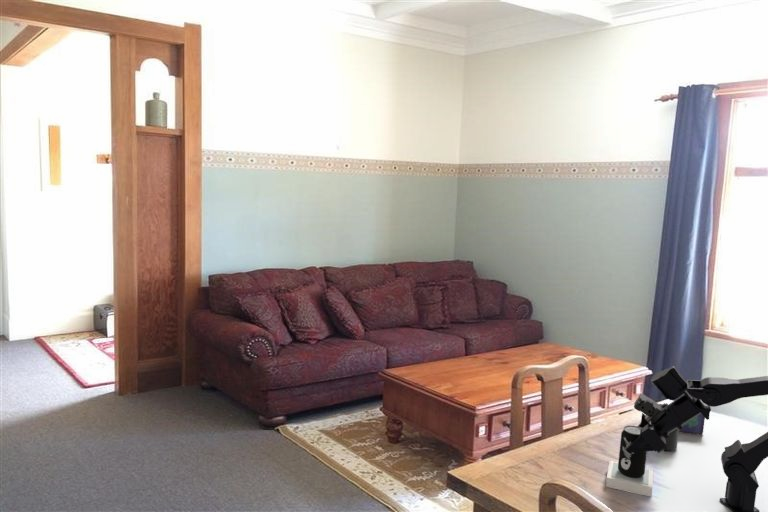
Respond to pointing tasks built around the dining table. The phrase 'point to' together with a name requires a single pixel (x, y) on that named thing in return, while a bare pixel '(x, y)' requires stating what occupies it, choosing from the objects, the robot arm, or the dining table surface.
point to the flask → (694, 426)
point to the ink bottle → (671, 440)
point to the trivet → (629, 481)
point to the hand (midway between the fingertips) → (627, 445)
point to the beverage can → (631, 454)
